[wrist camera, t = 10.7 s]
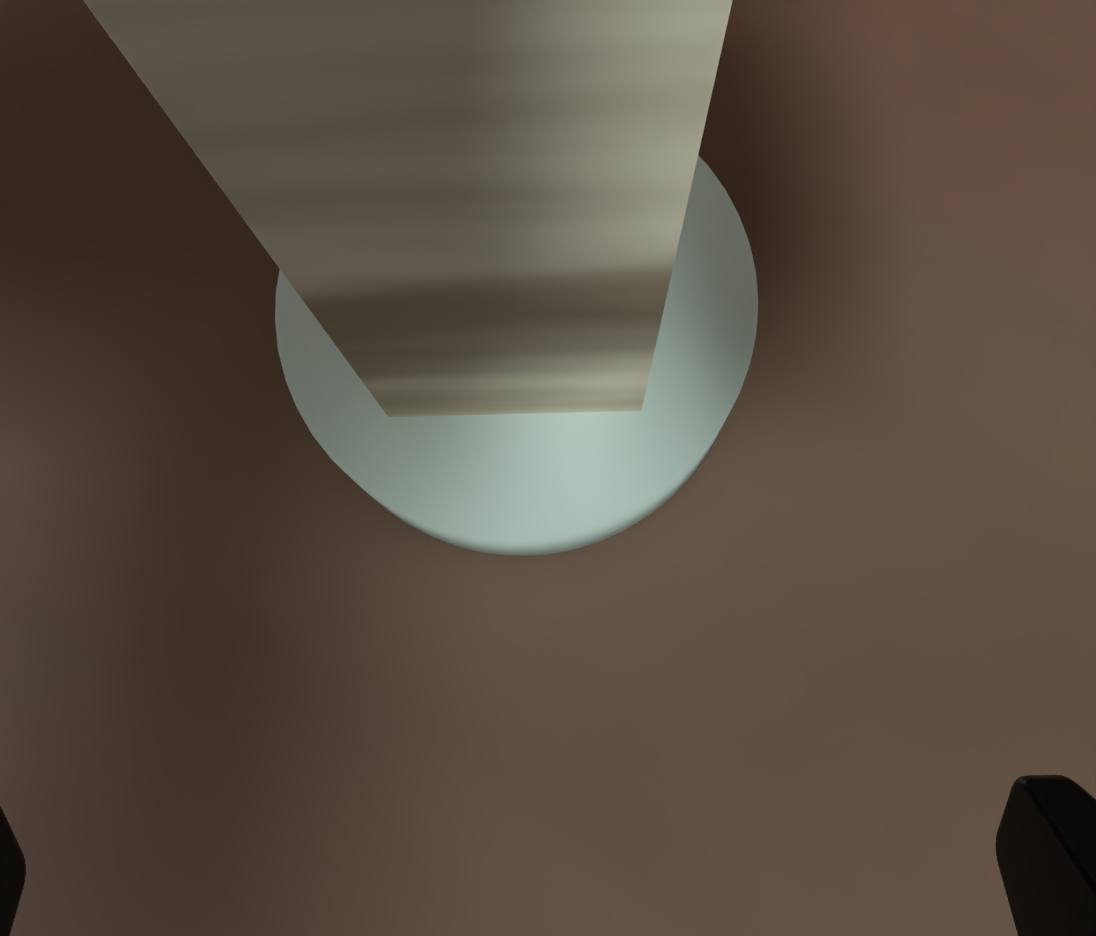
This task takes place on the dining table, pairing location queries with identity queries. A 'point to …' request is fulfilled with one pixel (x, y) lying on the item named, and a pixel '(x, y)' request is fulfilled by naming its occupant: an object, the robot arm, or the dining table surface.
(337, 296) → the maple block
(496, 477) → the plinth
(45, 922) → the dining table surface
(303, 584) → the dining table surface
